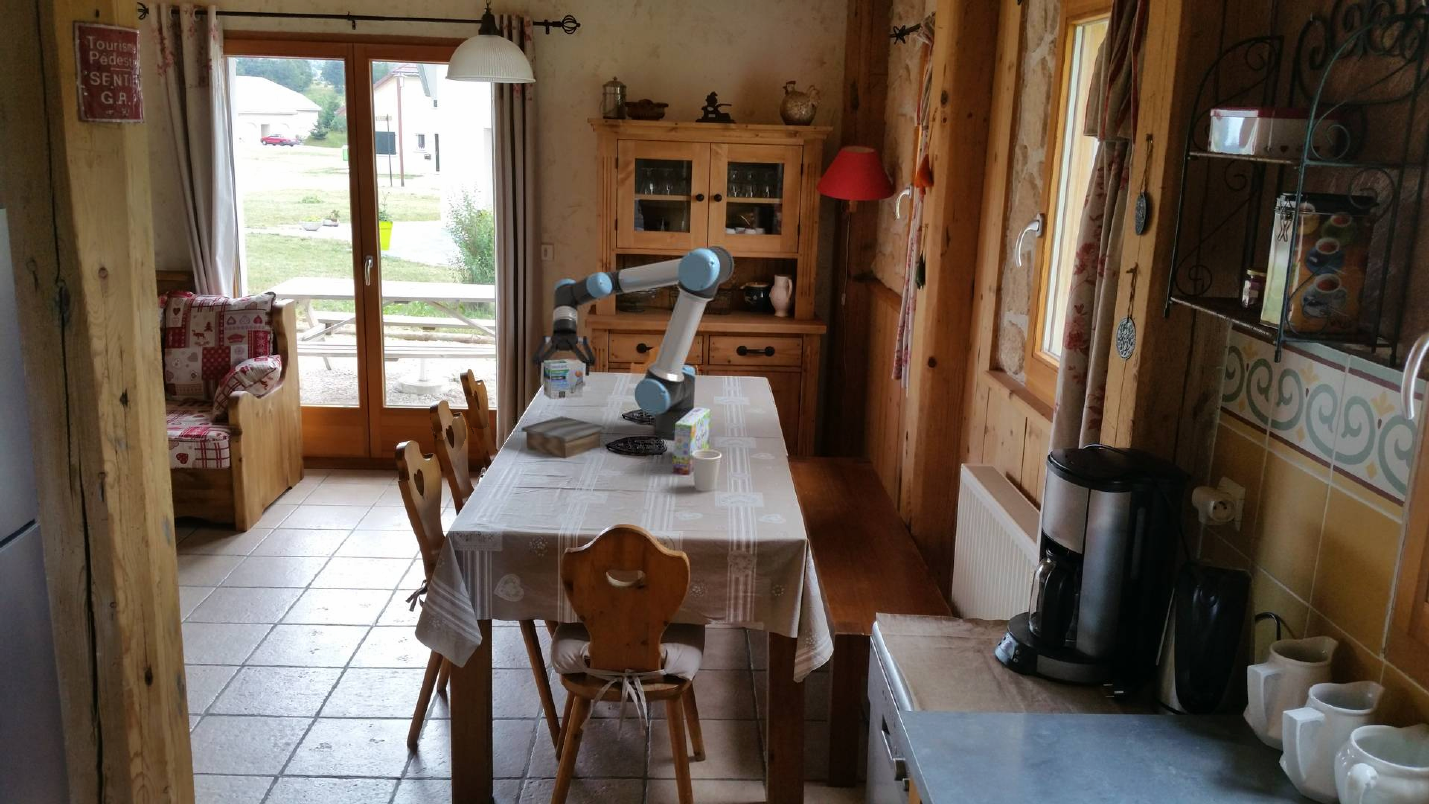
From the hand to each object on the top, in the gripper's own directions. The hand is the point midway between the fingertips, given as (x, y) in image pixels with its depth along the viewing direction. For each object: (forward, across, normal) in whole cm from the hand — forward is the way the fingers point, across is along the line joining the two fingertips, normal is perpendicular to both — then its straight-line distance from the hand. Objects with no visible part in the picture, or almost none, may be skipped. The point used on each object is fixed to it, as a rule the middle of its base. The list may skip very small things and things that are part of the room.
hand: (563, 383), depth 325 cm
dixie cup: (+41, -40, +11) cm, 58 cm away
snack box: (+25, -38, -5) cm, 46 cm away
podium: (+13, 0, -16) cm, 21 cm away
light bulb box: (+1, 0, -5) cm, 5 cm away
